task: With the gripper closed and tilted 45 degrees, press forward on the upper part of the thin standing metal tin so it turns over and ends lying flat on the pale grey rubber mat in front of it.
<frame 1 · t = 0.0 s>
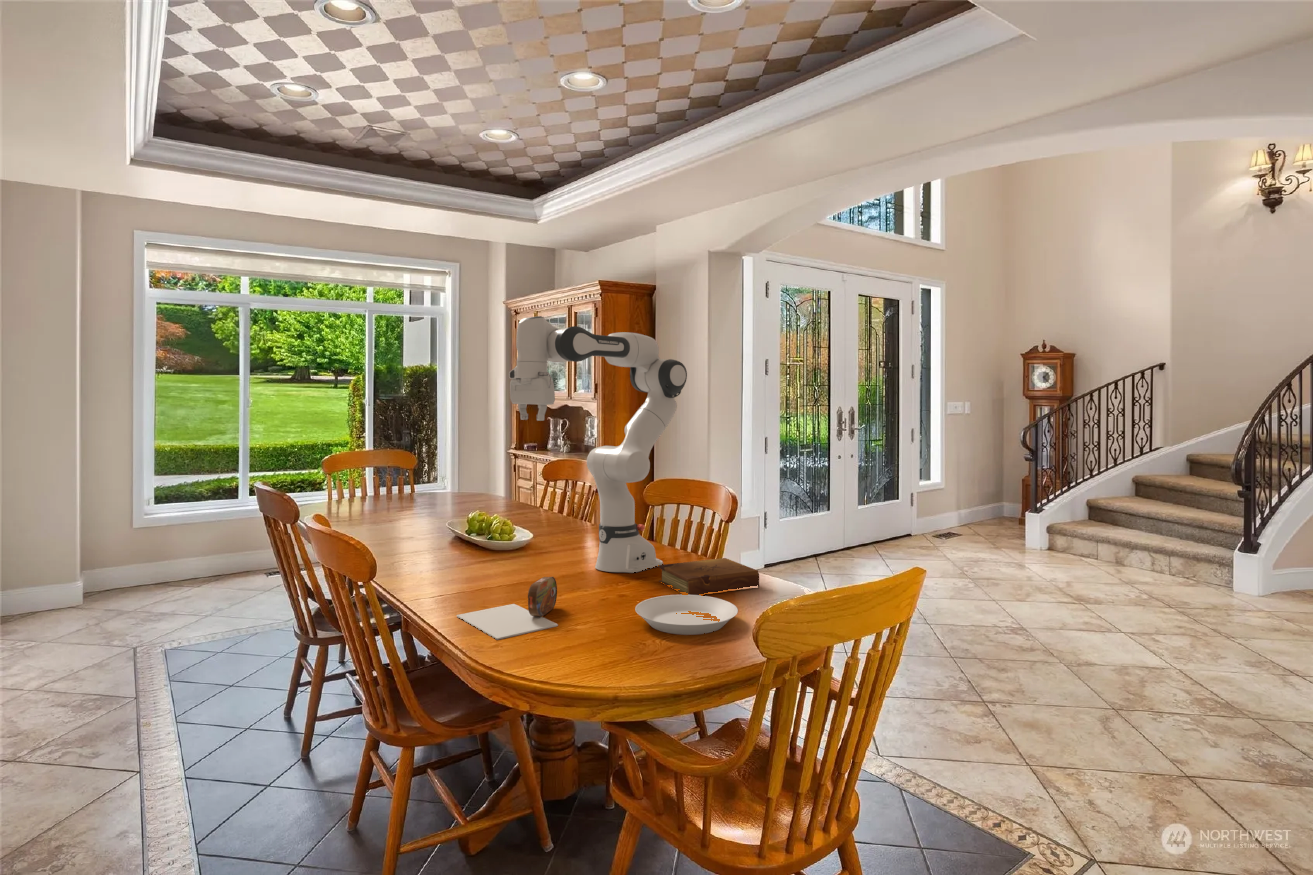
hand: (532, 420, 209), 48 cm above the table, tool pointing down, fingers open, 8 cm apart
diary: (708, 587, 210), on the table
bowl: (686, 624, 176), on the table
tin: (541, 613, 182), on the table, touching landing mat
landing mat: (506, 621, 176), on the table
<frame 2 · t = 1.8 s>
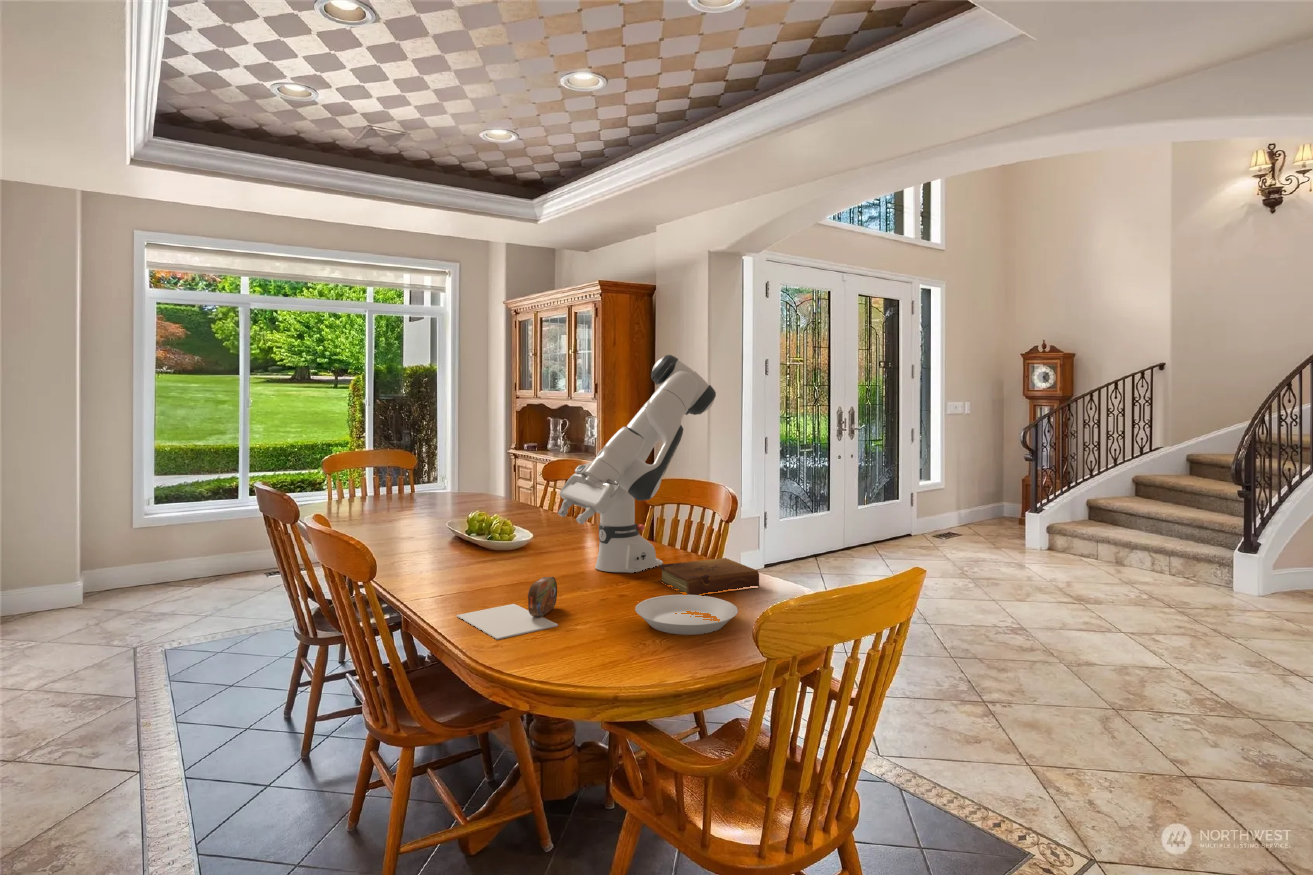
hand: (569, 518, 187), 23 cm above the table, tool tilted 40°, fingers open, 8 cm apart
nothing on the table moved.
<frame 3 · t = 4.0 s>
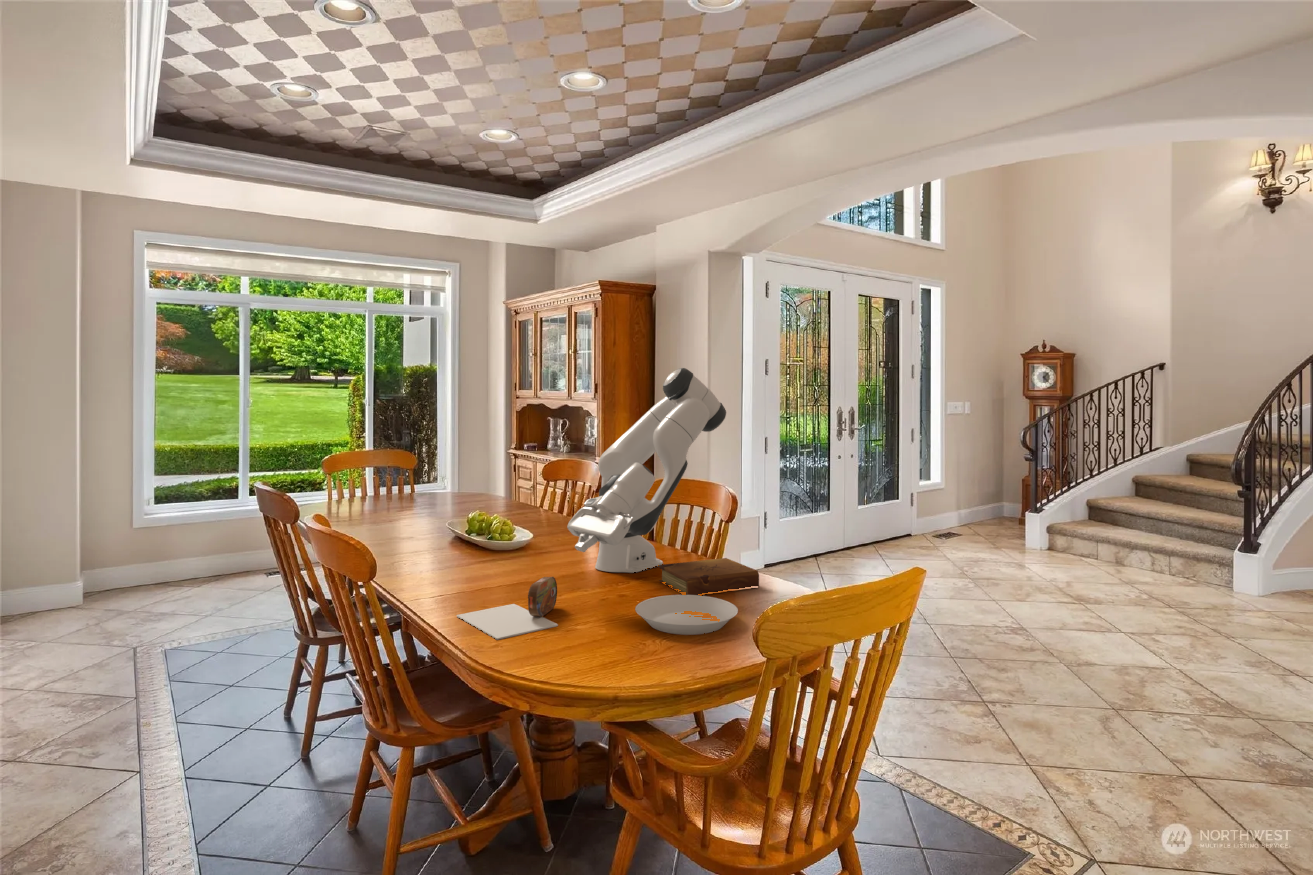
hand: (579, 549, 185), 15 cm above the table, tool tilted 50°, fingers closed
nothing on the table moved.
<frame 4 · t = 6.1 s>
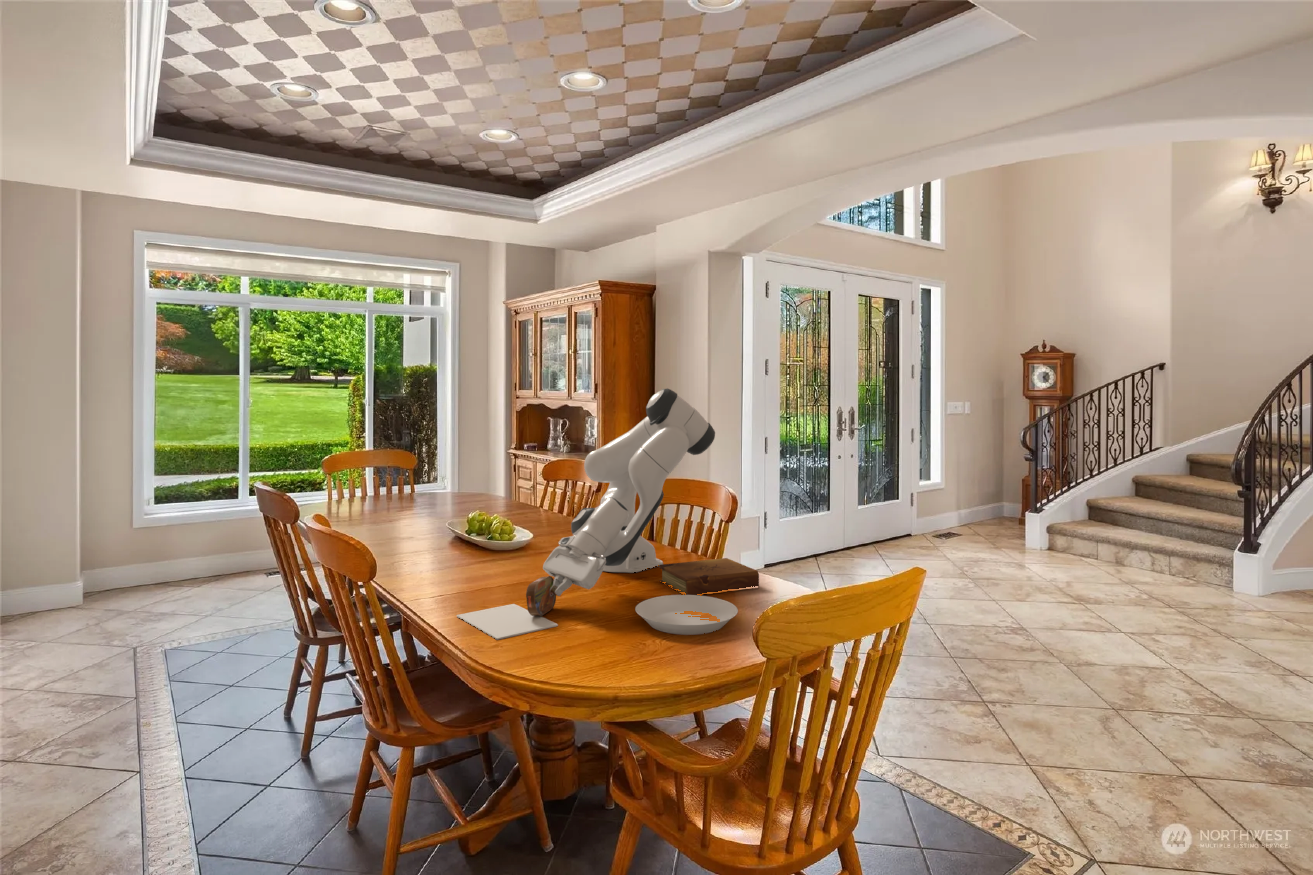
hand: (554, 593, 183), 5 cm above the table, tool tilted 45°, fingers closed
tin: (541, 612, 182), on the table, touching gripper, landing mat
everything else where it was.
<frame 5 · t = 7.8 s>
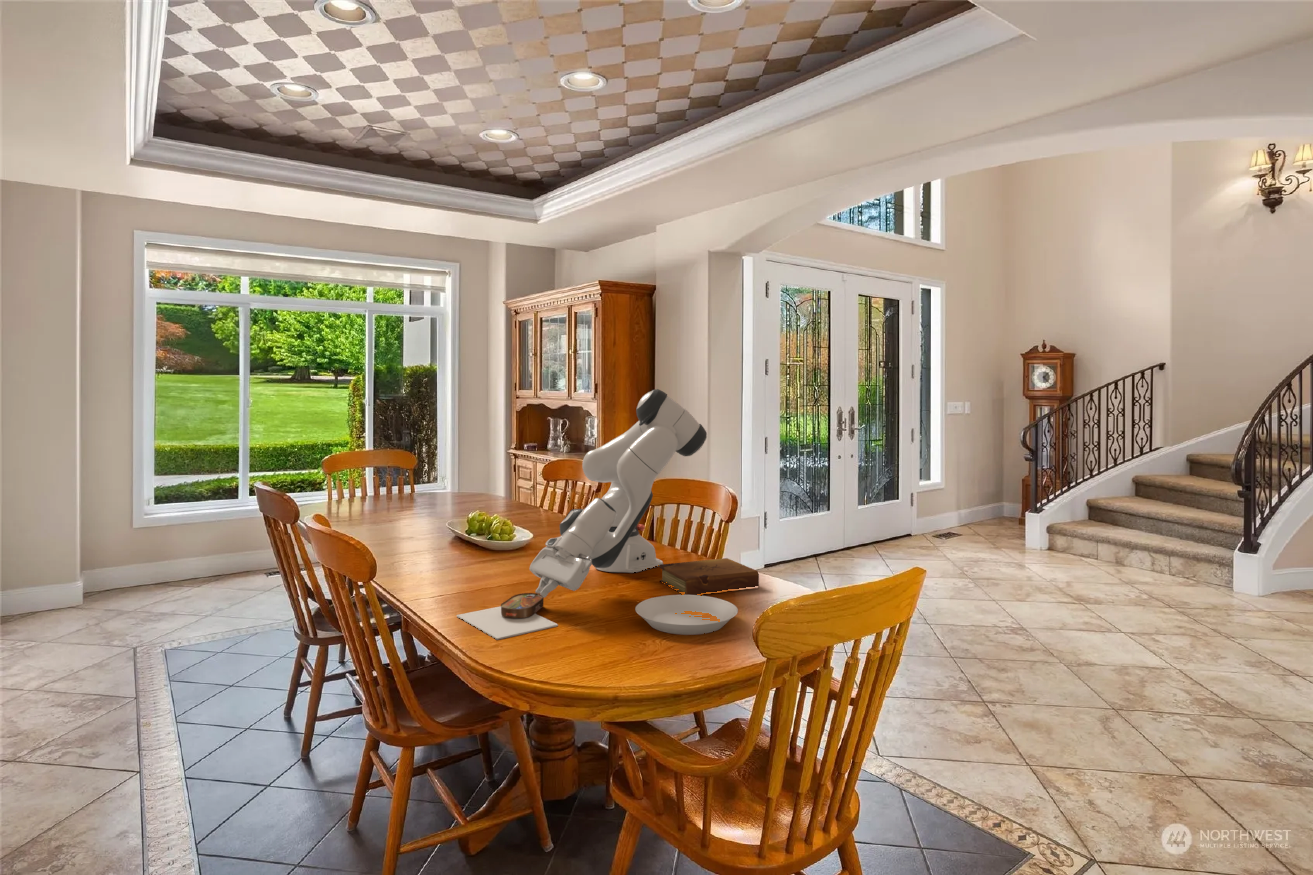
hand: (539, 595, 181), 5 cm above the table, tool tilted 45°, fingers closed
tin: (538, 607, 182), point 1 cm above the table, touching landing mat
everything else where it was.
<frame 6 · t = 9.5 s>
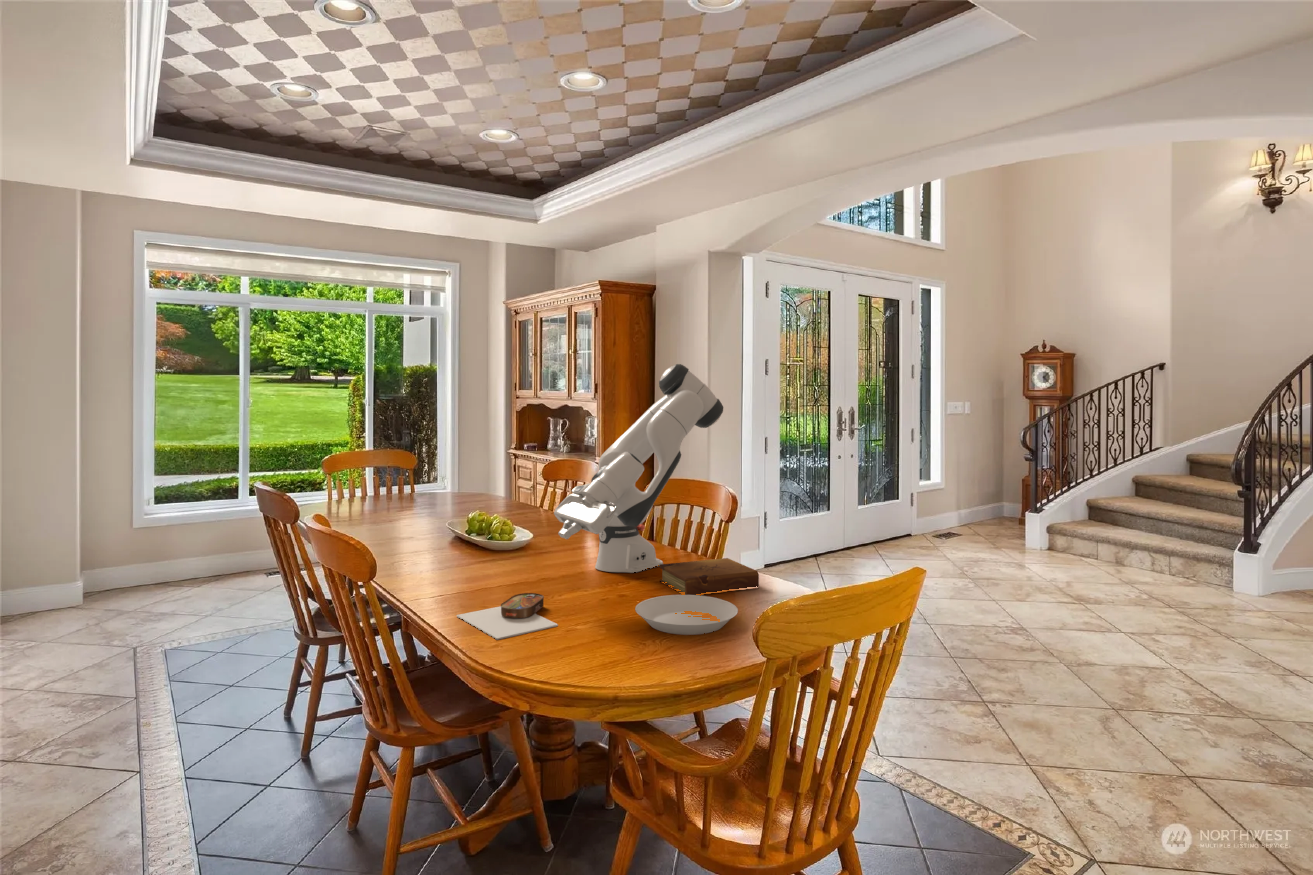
hand: (562, 536, 185), 19 cm above the table, tool tilted 50°, fingers closed
nothing on the table moved.
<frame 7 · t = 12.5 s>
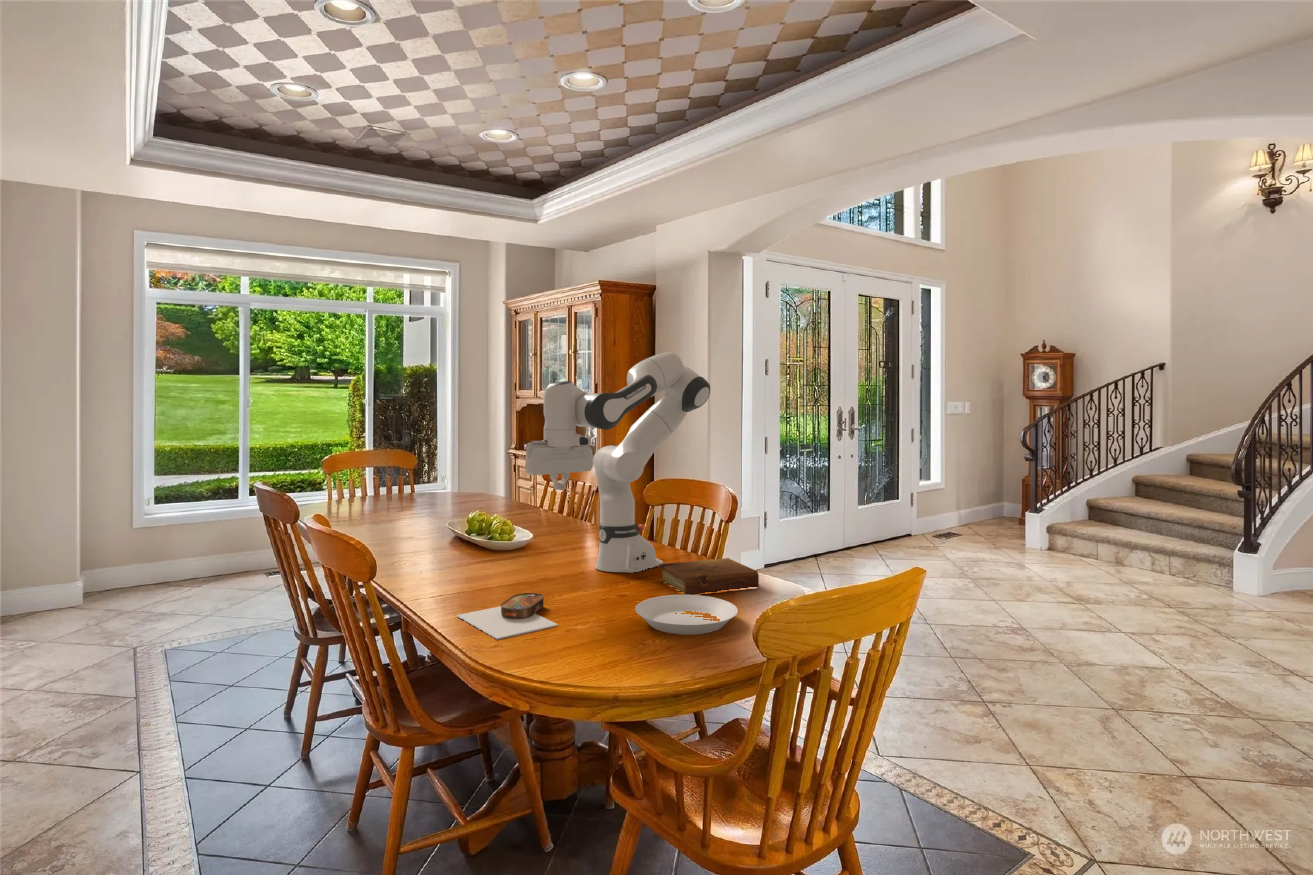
hand: (559, 489, 200), 29 cm above the table, tool pointing down, fingers closed
nothing on the table moved.
at the end: tin tilted 86°; tin inside the target area (5.5 cm from its centre), point 1.4 cm above the table; the gripper is holding nothing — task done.
